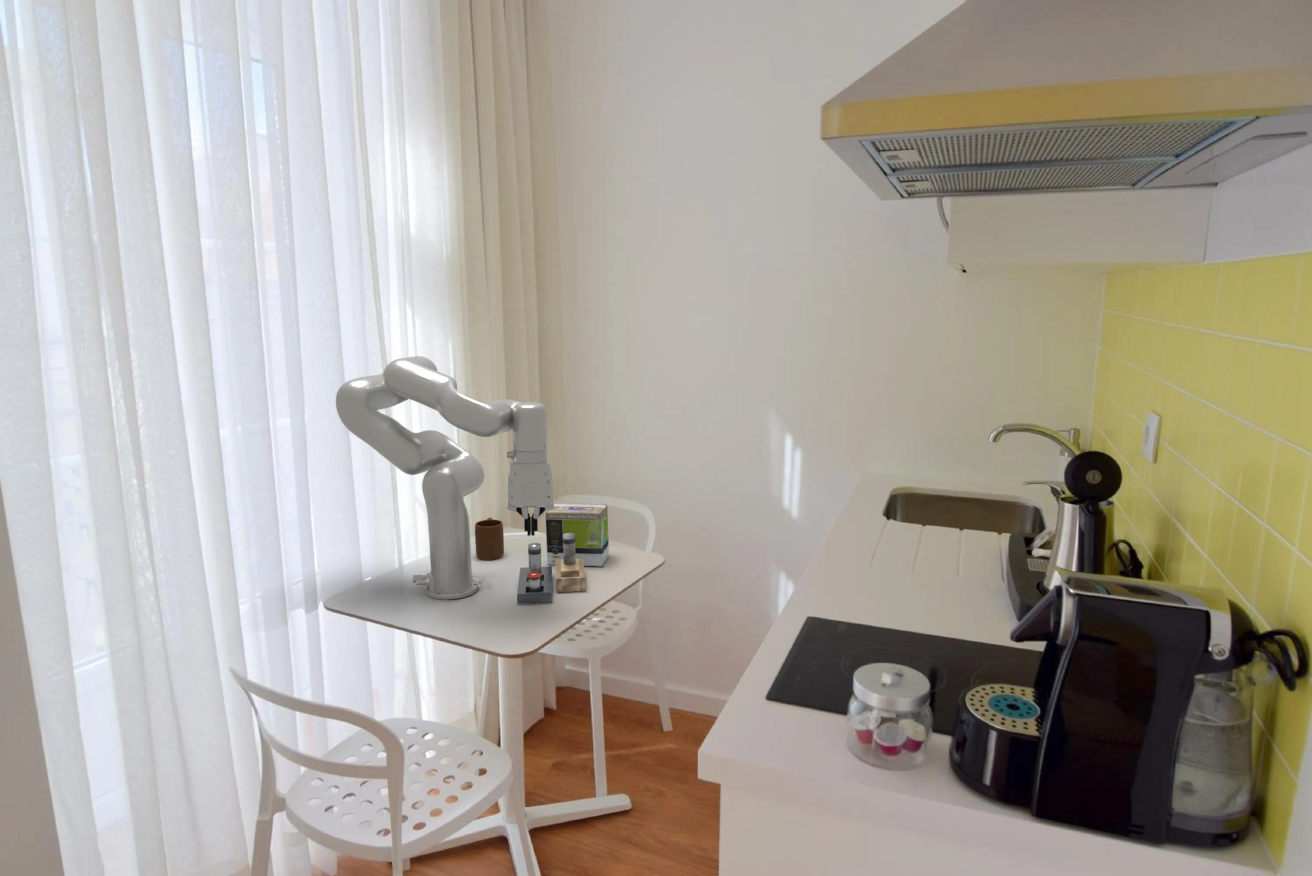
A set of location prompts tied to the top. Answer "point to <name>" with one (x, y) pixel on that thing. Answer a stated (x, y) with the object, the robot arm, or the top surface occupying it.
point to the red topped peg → (534, 581)
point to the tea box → (578, 532)
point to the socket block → (535, 597)
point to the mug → (489, 539)
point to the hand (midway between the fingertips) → (531, 533)
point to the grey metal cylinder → (534, 557)
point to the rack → (570, 568)
